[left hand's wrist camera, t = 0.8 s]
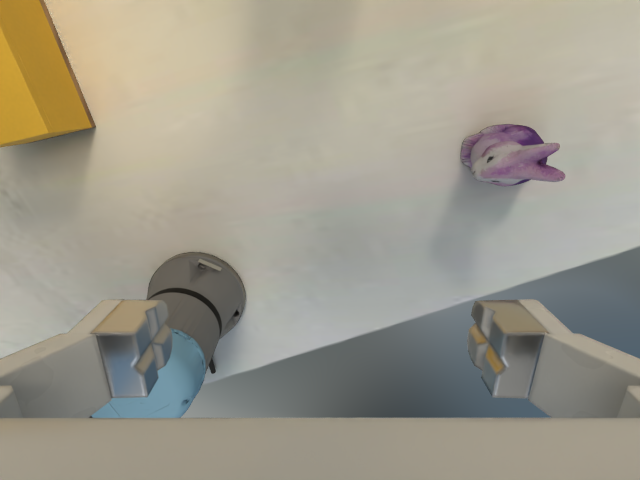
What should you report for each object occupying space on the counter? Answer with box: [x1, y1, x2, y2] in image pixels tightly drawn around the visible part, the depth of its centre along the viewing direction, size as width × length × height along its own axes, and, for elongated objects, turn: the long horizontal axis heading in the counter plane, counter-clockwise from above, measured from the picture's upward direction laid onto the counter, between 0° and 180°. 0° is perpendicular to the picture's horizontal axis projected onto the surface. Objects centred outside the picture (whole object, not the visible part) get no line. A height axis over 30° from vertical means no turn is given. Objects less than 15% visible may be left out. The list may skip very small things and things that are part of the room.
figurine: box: [461, 124, 565, 186], centre depth 48 cm, size 9×10×15 cm
